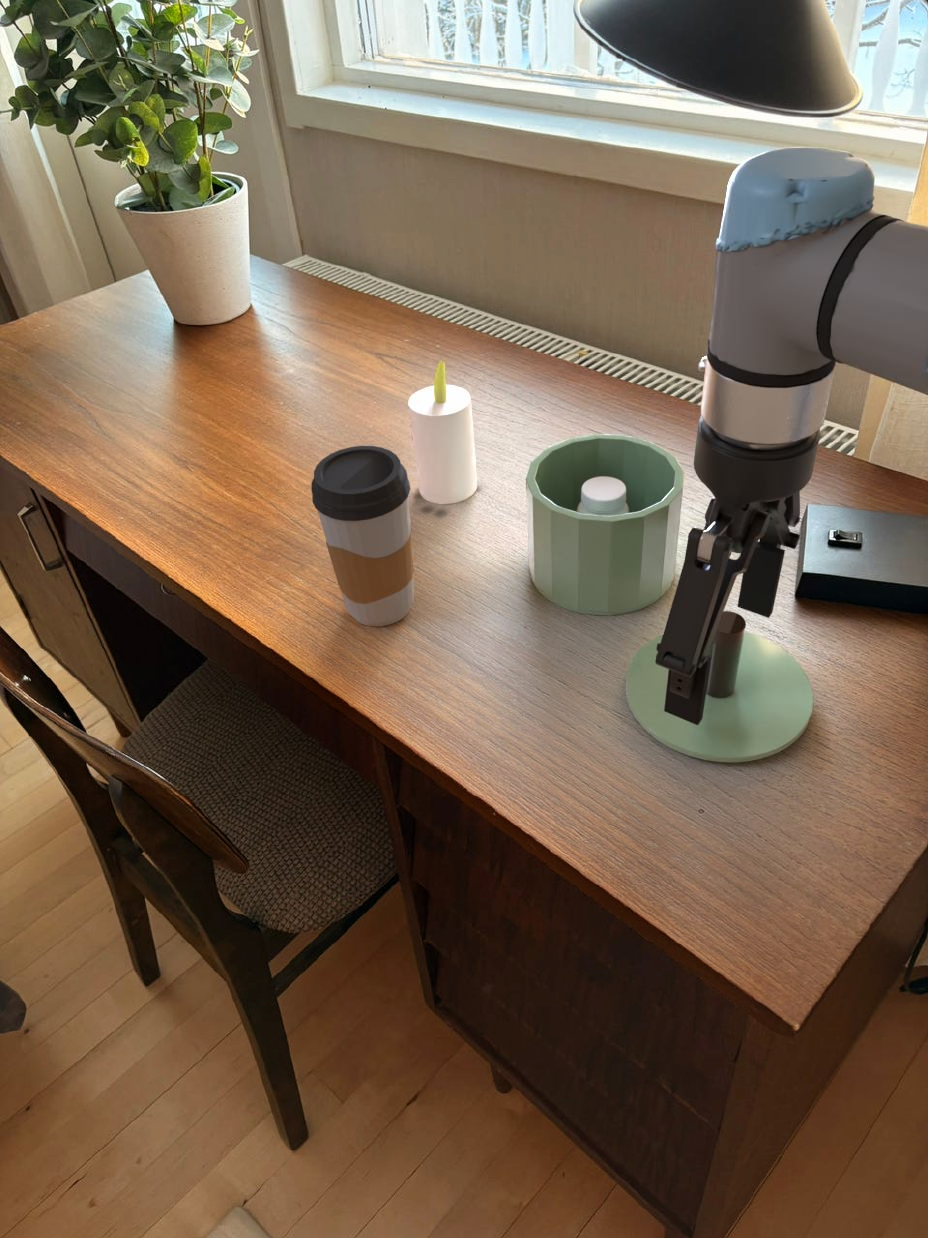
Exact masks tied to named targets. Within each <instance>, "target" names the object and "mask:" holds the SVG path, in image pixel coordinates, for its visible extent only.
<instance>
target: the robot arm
mask: <svg viewBox="0 0 928 1238" xmlns="http://www.w3.org/2000/svg"><path fill="white" fill-rule="evenodd" d="M874 189H875V172H874V170H873V167H872V166H871V164H870V163H869V162H867V161H866V160H865V159H864V158H860V157H856V156H854V155H853V153H851V152H849V151H846V150H841V149H836V148H831V147H823V146H822V147H819V146H795V147H794V146H791V147H781V148H777V149H775V148H774V149H771V150H767V151H764V152H761V153H759V154H756V155H755V156H752V157H749V158H747V159H746V160H744V161H743V162H742V163H741V164H740V165H738V166H737V167H736V168H735V169H734V171H733V172H732V174H731V176H730V178H729V181H728V184H727V189H726V195H725V202H724V207H723V213H722V218H721V225H720V229H719V230H720V231H719V237H718V238H716V241H715V247H714V249H715V252H716V253H715V265H714V266H715V267H714V283H713V296H712V297H713V298H712V309H711V319H710V320H711V321H710V330H709V331H710V332H709V339H708V340H707V350H706V355H705V356H704V357H702V358H701V360H700V361H699V363H698V370H699V371H700V373H703V374H704V377H703V386H702V394H701V402H700V415H701V416H700V417H699V419H698V424H697V430H696V439H695V446H694V447H695V448H694V457H693V468H694V472H695V474H696V476H697V478H698V479H699V481H700V482H701V483H702V484H703V485H704V486H705V487H706V488H707V489H708V490H709V491H710V493H711V494H712V495H713V497H711V499H710V501H709V503H708V506H707V509H706V511H705V514H704V520H705V525H704V527H703V528H701V527H699V526H695V525H694V526H693V527H691V530H690V531H689V533H688V536H687V543H686V548H685V549H686V550H685V555H684V561H683V565H682V567H681V568H682V569H681V572H680V574H679V578H678V581H677V586H676V588H675V592H674V595H673V599H672V602H671V604H670V605H671V606H670V609H669V613H668V617H667V619H666V623H665V626H664V630H663V633H662V635H663V636H662V640H661V643H658V644H657V651H658V653H657V655H656V660H655V662H656V664H657V665H659V666H662V667H664V668H667V669H669V672H668V680H667V689H666V698H665V707H664V711H665V712H667V713H669V714H672V715H674V716H677V717H679V718H681V719H684V720H686V721H688V722H691V723H693V724H695V725H699V723H700V722H701V720H702V717H703V711H704V704H705V698H706V691H707V685H708V678H709V672H710V665H711V658H712V656H711V655H708V654H707V653H708V651H709V648H710V645H711V643H712V640H713V638H714V635H715V632H716V630H717V627H718V624H719V622H720V619H721V616H722V614H723V611H725V608H726V606H727V603H728V600H729V597H730V595H731V592H732V590H733V588H734V584H735V582H736V579H737V577H738V576H739V575H741V574H742V578H741V583H740V589H739V595H738V600H737V608H739V609H742V610H745V611H748V612H750V613H754V614H757V615H759V616H762V617H765V618H769V619H770V618H771V616H772V614H773V612H774V607H775V601H776V598H777V592H778V588H779V582H780V577H781V573H782V567H783V562H784V559H785V554H786V550H785V549H782V547H786V548H789V549H793V550H795V549H796V548H797V546H798V545H799V542H800V538H801V534H799V533H796V532H792V531H791V530H790V527H792V528H796V527H797V525H798V524H799V523H800V521H801V517H800V516H801V491H802V490H803V489H804V488H805V487H806V486H807V485H808V483H809V482H810V480H811V479H812V475H813V472H814V467H815V463H816V458H817V453H818V448H819V444H820V439H821V428H822V426H823V425H824V423H825V420H826V414H827V409H828V405H829V400H830V396H831V395H830V394H831V390H832V385H833V379H834V374H835V369H836V364H840V365H841V364H842V365H845V366H846V365H847V366H849V367H851V368H854V369H857V370H859V371H862V372H865V373H867V374H869V375H872V376H875V377H878V378H881V379H883V380H885V381H889V382H891V383H894V384H897V385H900V386H902V387H905V388H908V389H910V390H913V391H916V392H918V393H920V394H923V395H926V396H928V225H923V224H918V223H913V222H908V221H906V220H902V219H901V218H897V217H892V216H890V215H887V214H883V213H881V212H877V211H875V210H873V207H874V206H875V205H874V200H875V199H876V197H875V196H874V191H875V190H874ZM732 553H735V554H739V557H738V558H736V559H733V558H731V556H732Z"/></svg>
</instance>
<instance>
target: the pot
mask: <svg viewBox="0 0 928 1238" xmlns="http://www.w3.org/2000/svg"><path fill="white" fill-rule="evenodd" d="M602 476H604V477H613V478H616V479H618V480H620V481H622V482H623V483H624V484H625V486H626V503H627V505H628V508H629V513H627V514H621V515H615V516H600V515H586V514H581V513H578V512H577V507H578V505H579V503H580V502H581V489H582V486H583V484H584V483H585V482H586V481H587V480H589V479H592V478H595V477H602ZM684 481H685V470H684V468H683V467H682V466H681V464H680V463H679V461H678V459H677V458H676V456H675V455H674V454H673V453H671V452H669V451H668V450H666V449H665V448H663V447H661V446H659V444H656V443H655V442H652V441H649V440H645V439H642V438H638V437H634V436H631V435H623V434H605V433H595V434H589V435H588V434H587V435H583V436H577V437H570V438H568V439H565V440H563V441H561V442H558V443H556V444H553V445H550V446H548V447H547V448H545V449H543V451H542V452H541V453H539V454H538V455H537V456H536V457H535V458H534V459H533V460H531V462H530V463H529V467H528V470H527V473H526V477H525V497H526V498H525V500H526V527H527V529H526V530H527V531H526V532H527V554H528V555H527V557H528V559H527V562H528V569H529V574H530V577H531V581H532V583H533V585H534V587H535V588H536V590H537V591H538V592H539V593H540V594H541V595H542V596H543V597H544V598H546V599H547V600H548V601H550V602H551V603H553V604H555V605H556V606H558V607H561V608H563V609H565V610H567V611H571V612H574V613H579V614H584V615H591V616H617V615H624V614H629V613H633V612H635V611H639V610H642V609H644V608H646V607H649V606H650V605H652V604H653V603H655V602H657V601H658V600H660V599H661V598H662V597H663V596H664V595H665V594H666V593H667V592H668V590H669V589H670V587H671V586H672V584H673V581H674V579H675V572H676V563H677V554H678V553H677V552H678V544H679V534H680V533H679V532H680V522H681V512H682V502H683V494H684V493H683V492H684V484H685V483H684Z"/></svg>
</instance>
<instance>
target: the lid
mask: <svg viewBox="0 0 928 1238" xmlns="http://www.w3.org/2000/svg"><path fill="white" fill-rule="evenodd" d="M746 627H747V622H746V620H745V618H744V617H743V616H742V615H741V614H739V613H737V612H735V611H729V610H724V611H723V614H722V616H721V619H720V622H719V624H718V627H717V630H716V632H715V635H714V638H713V640H712V643H711V645H710V648H709V651H708V653H707V654H708V655H711V656H712V658H711V665H710V672H709V678H708V685H707V691H706V698H705V704H704V711H703V717H702V720H701V722H700V723H699V725H695V724H693V723H691V722H688V721H686V720H684V719H681V718H679V717H677V716H674V715H672V714H669V713H667V712H665V711H664V707H665V698H666V689H667V680H668V672H669V669H667V668H664V667H662V666H659V665H657V664H656V662H655V660H656V655H657V653H658V651H657V644H658V643H661V640H662V636H663V634H662V635H659V636H657V637H655V638H653V640H650V641H649V642H648V643H646V644H645V645H644V646H642V647H641V649H640V650H638V652H637V653H636V654H635V656H634V657H633V659H632V660H631V662H630V664H629V667H628V669H627V673H626V677H625V695H626V700H627V704H628V707H629V710H630V711H631V713H632V715H633V716H634V718H635V719H636V721H637V722H638V723H639V725H640V726H641V727H642V728H643V729H644V730H645V731H646V732H647V734H649V735H651V736H652V737H653V738H654V739H655V740H657V741H658V742H660V743H661V744H662V745H665V746H666V747H668V748H670V749H672V750H674V751H675V752H678V753H681V754H684V755H686V756H690V757H692V758H696V759H700V760H704V761H710V762H716V763H717V762H718V763H744V762H751V761H757V760H761V759H765V758H768V757H771V756H773V755H776V754H778V753H780V752H781V751H783V750H785V749H786V748H789V747H790V746H791V745H793V743H795V742H796V741H797V740H798V739H799V738H800V737H801V736H802V734H803V733H804V732H805V730H806V729H807V728H808V726H809V723H810V721H811V718H812V714H813V710H814V691H813V687H812V684H811V682H810V679H809V677H808V675H807V673H806V672H805V670H804V669H803V667H802V666H801V665H800V663H799V662H798V661H797V660H796V659H795V657H793V656H792V655H791V654H790V653H788V652H787V651H786V650H785V649H784V648H782V647H780V646H779V645H777V644H776V643H774V642H772V641H771V640H769V639H767V638H765V637H763V636H760V635H757V634H755V633H753V632H749V631H747V630H746V629H747V628H746Z"/></svg>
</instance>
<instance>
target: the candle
mask: <svg viewBox="0 0 928 1238" xmlns="http://www.w3.org/2000/svg"><path fill="white" fill-rule="evenodd" d="M407 404H408V411H409V420H410V428H411V439H412V444H413V451H414V452H413V453H414V459H415V467H416V475H417V483H418V490H419V494H420V496H421V498H423V499H424V500H425V501H428V502H430V503H432V504H440V505H451V504H456V503H460V502H464V501H466V500H468V499H469V498H470V497H472V496H473V495H474V494H475V492H476V491H477V490H478V489H477V488H478V476H477V464H476V463H477V462H476V452H475V450H476V448H475V438H474V437H475V436H474V424H473V423H474V422H473V411H472V410H473V409H472V398H471V394H470V393H469V392H468V390H467V389H465V388H463V387H460V386H457V385H453V384H447V380H446V364H445V361H444V359H442V360H440V361H439V363H437V367H436V369H435V372H434V378H433V385H430V386H426V387H422V388H420V389H418V390H416V391H415V392H414V393H412V394H411V395H410V397H409V398H408V403H407Z"/></svg>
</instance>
